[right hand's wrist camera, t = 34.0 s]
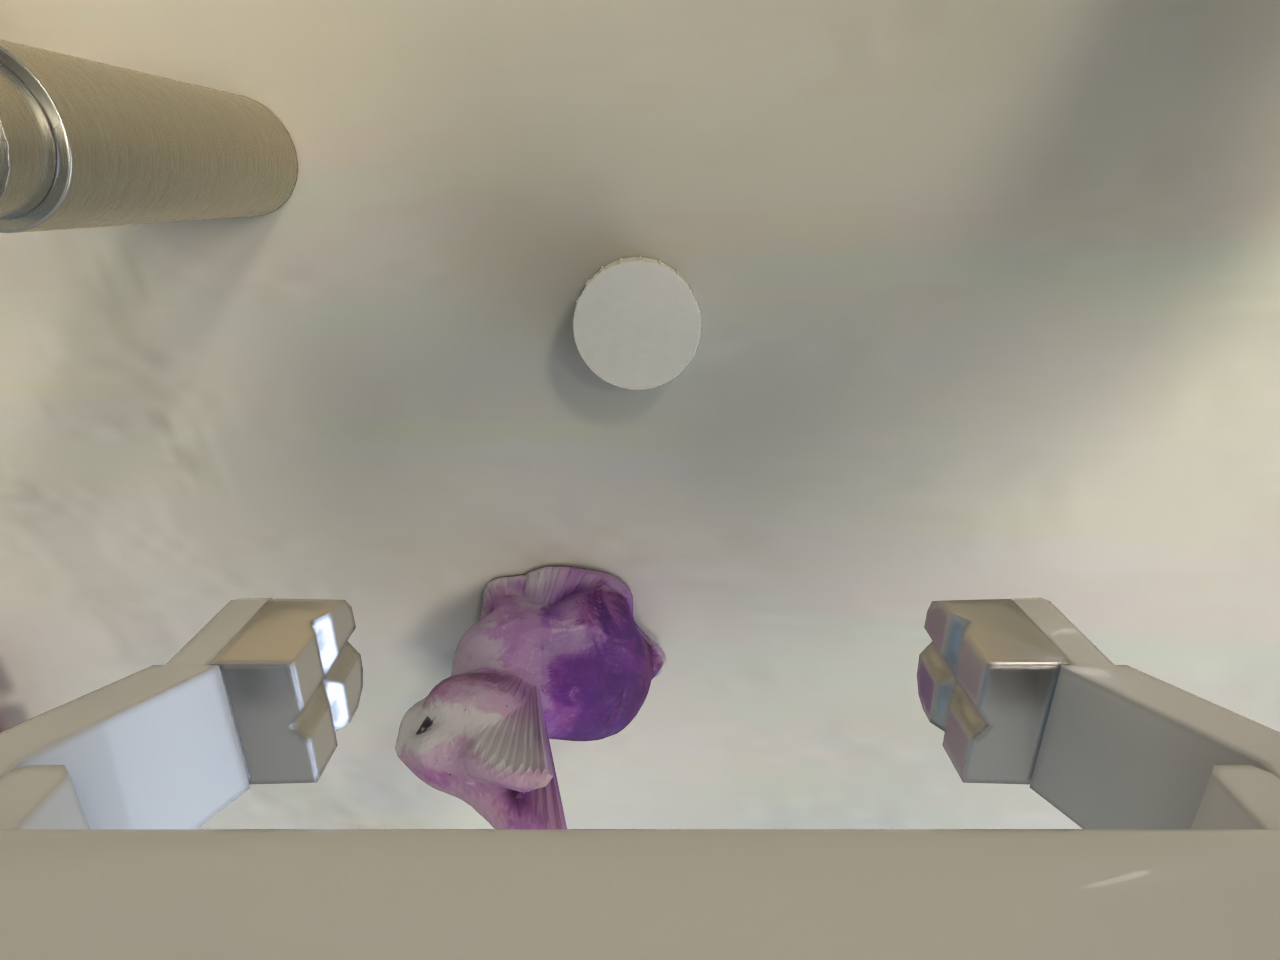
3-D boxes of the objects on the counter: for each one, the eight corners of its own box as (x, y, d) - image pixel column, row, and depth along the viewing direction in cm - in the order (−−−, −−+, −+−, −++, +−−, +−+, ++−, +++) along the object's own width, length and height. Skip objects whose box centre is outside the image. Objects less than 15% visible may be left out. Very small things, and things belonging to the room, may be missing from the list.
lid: (723, 324, 35) (728, 333, 33) (632, 402, 37) (632, 416, 35) (641, 228, 34) (642, 230, 32) (550, 314, 35) (544, 322, 33)
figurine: (434, 605, 41) (328, 819, 27) (585, 519, 39) (555, 703, 25) (529, 720, 44) (478, 965, 30) (674, 645, 42) (691, 872, 28)
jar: (317, 196, 33) (51, 202, 18) (220, 230, 34) (-117, 262, 19) (265, 78, 31) (-76, -23, 16) (163, 115, 32) (-257, 50, 17)
